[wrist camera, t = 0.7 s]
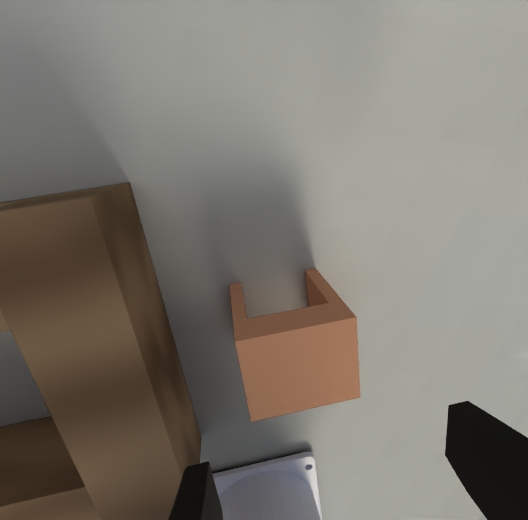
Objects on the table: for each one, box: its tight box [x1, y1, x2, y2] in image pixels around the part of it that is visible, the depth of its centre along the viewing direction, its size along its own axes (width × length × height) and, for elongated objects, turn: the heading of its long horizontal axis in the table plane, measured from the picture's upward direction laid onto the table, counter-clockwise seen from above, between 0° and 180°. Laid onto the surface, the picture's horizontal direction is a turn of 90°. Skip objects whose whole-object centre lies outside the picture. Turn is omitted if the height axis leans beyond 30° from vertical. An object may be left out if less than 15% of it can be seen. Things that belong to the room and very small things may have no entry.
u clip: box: [229, 268, 360, 422], centre depth 16 cm, size 4×5×6 cm
